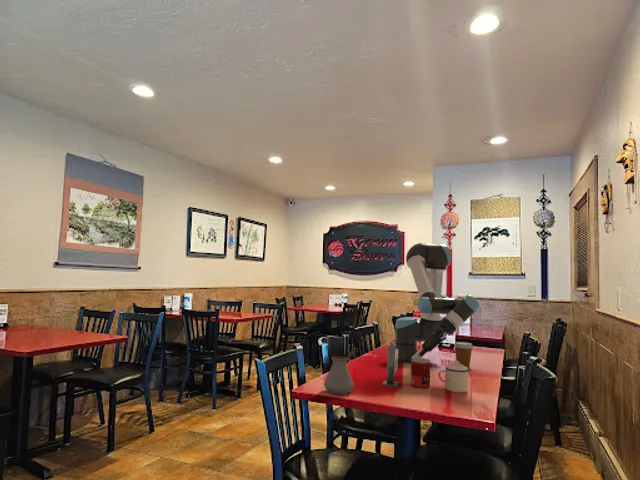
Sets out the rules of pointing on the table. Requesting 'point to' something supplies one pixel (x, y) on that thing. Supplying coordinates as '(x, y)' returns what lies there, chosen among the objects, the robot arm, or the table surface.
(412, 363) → the canned food
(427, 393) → the table surface
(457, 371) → the teacup with lid
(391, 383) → the post
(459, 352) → the disposable coffee cup
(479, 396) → the table surface
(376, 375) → the table surface
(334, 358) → the coffee pot
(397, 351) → the swing panel
